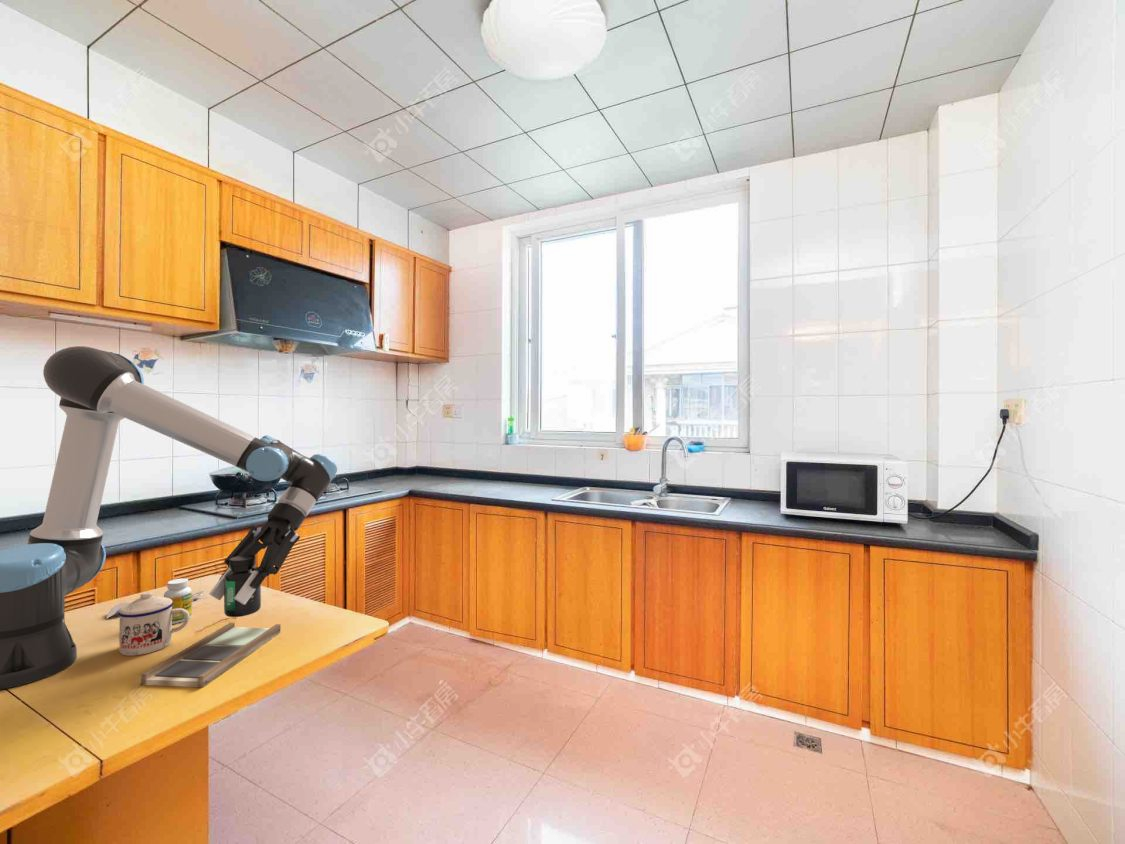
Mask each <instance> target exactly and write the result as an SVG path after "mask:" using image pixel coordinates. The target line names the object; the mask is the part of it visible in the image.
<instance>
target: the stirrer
mask: <svg viewBox="0 0 1125 844" xmlns="http://www.w3.org/2000/svg"><path fill="white" fill-rule="evenodd" d="M204 593H205V591H204V590H201V591H198V592H195V593H192V600H195V599H197V598H199V597H201V596H202V595H203V594H204ZM129 603H130V602H122V603H119V604H116V605H115V606H113V607H112V608H111V609H110V610H109V611H108V613H107V615H106V616H107V617H108V618H107V619H110V618H111V617H113V616H115V615H116V614H117V615H118V612H119V610H120V608H121V607H123V606H124V605H126V604H129ZM109 617H110V618H109Z"/></svg>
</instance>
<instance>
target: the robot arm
mask: <svg viewBox="0 0 1125 844" xmlns="http://www.w3.org/2000/svg"><path fill="white" fill-rule="evenodd" d="M42 371H43V373H42V374H43V378H44V381H45V384H46V385H47V387H48V388H49V389H50V390H51V391H52V392H53V393H54V394H56V395H57V396H59V397H60V400H59V404H58V407H59V408H60V409H61V410H62V411H63V412H64V413H65V415H66V418H65V422H64V426H63V432H62V436H61V440H60V445H59V449H58V454H57V457H56V461H55V467H54V472H53V476H52V480H51V485H50V489H49V493H48V498H47V502H46V508H45V511H44V516H43V520H42V523H41V524H40V525H39V526H37V527H36V528H34V529H32V530H31V531H30V533H29V536H28V541H27V544H24V545H23V544H22V545H17V546H13V547H11V548H7V549H5V548H4V549H1V550H0V690H3V689H10V688H13V687H19V686H22V685H25V684H29V683H32V682H33V683H34V682H35V681H39V680H42V679H44V678H47V677H50V676H53V675H55V674H56V673H57V674H58V673H59V672H61V671H63V670H65V669H66V668H68V667H70V666H71V665H72V664H73V663H75V662H76V660H77V657H78V655H77V653H78V652H77V651H78V650H77V649H78V648H77V645H76V643H75V642H74V639H73V637H72V634H71V633H70V631H69V628H68V627H67V626H68V625H66V621H65V620H66V619H65V612H66V611H65V609H66V608H65V602H66V601H65V599H66V598H65V597H66V596H68V595H70V594H71V593H73V592H74V591H77V590H78V589H79V588H82V587H83V586H85V585H87V584H88V583H90V582H91V581H92V580H93V579H94V578H95V577H96V576H97V575H98V574H99V573H100V572H101V571H102V568H103V567H104V566H105V563H106V558H107V557H106V556H107V553H106V548H105V546H104V545H103V544H102V543H103V542H102V541H103V537H104V531H103V529H101V528H100V527H99V526H98V525H97V523H98V518H99V513H100V509H101V504H102V501H103V500H102V499H103V498H104V497H103V496H104V491H105V487H106V483H107V477H108V475H109V468H110V463H111V459H112V456H113V455H112V454H113V451H114V446H115V442H116V441H115V440H116V437H117V433H118V428H119V423H120V422H121V421H122V420H123V419H127V420H129V421H131V422H133V423H136V424H138V425H140V426H143V427H145V428H147V429H150V430H152V431H155V432H157V433H159V434H161V435H163V436H166V437H169V438H170V439H172V440H175V441H178V442H179V443H182V444H184V445H186V446H188V447H191V448H193V449H195V450H196V451H197V450H198V451H200V452H202V453H205V454H207V455H209V456H211V457H214V458H216V459H219V460H221V461H223V462H225V463H227V464H230V465H232V466H233V467H234V466H235V467H236V468H238V469H240V470H242V471H245V472H247V473H248V474H249V475H250V476H251V477H252V478H253V479H255V480H256V481H261V482H270V481H271V482H272V481H275V480H278V479H282V480H283V481H285V482H287V483H290V485H289V486H288V488H287V489H285V491H284V492H283V494H282V495H281V496H280V498H279V499H277V500H278V501H277V503H275V505H274V506H273V507H272V508H271V510H270V511H269V513H268V514H267V522H266V523H264V524H263V525H262V526H261V527H257V526H255V525H253V526H251V527H250V528H249V530H248V532H247V534H246V535H245V536H244V538H243V539H242V540H241V541H240V542H239V543H238V545H236V547H234V549H233V550H232V551H231V552H230V554H228V556H227V557H226V558H225V560H224V561H223V562H224V564H225V565H226V566H227V567H226V570H225V571H223V573H222V574H221V576H220V577H219V580H218V582H216V584H215V585H214V587H213V588H212V589H211V590H210V592H209V593H208V594H209V595H210V596H211V597H213V598H215V599H216V600H219V601H221V600H222V598H224V576H225V574H226V573H227V572H228V571H229V570H231V569H230V568H229V565H230V559H231V558H233V557H236V556H241V555H254V556H255V557H256V555H257V554H258V553H259V552H260V551H261V550H264V549H265V551H264V554H263V557H262V559H261V562H260V564H259V566H255V567H256V569H257V570H258V571H259V572H258V571H255V570H254V571H253V573H252V574H251V575H250V577H249V578H248V580H247V581H246V582H245V584H244V585H243V587H242V588H241V589H240V591H239V592H238V594H237V595H236V596H235V598H234V599H235V600H237V601H238V602H240V603H241V604H244V605H245V604H246V603H247V601H248V600H249V598H250V597H251V596H252V594H253V593H254V591H255V590H256V589H257V588H258V587H259V586H260V584H261V585H262V583H263V582H264V580H265V579H266V578H267V577H269V576H270V575H277V574H278V573H279V571H280V569H281V568H282V566H283V564H284V563H285V561H286V559H287V558H288V556H289V554H290V552H291V550H292V549H293V547H294V545H295V544H297V542H298V541H299V540H300V538H301V536H300V535H299V534H298V533H297V532H296V531H298V529H300V527H301V525H302V524H303V522H304V521H305V520H306V517H307V516H308V515H309V513H310V512H311V511H312V509H313V507H314V506H315V505H316V504H317V502H318V501H319V499H320V498H321V497H322V495H323V494H324V493H325V491H326V490H327V488H328V487H329V485H330V484H331V482H332V480H333V479H334V477H335V476H336V474H337V472H338V467H337V464H336V463H335V461H333V459H331V458H330V457H328V456H326V455H323V454H319V453H318V454H317V453H316V454H314V455H312V456H311V457H308V456H305V455H303V454H301V453H300V452H298V451H296V450H295V449H293V448H291V447H290V446H288V445H287V444H285V443H283V442H282V441H281V440H279V439H277V438H274V437H272V436H270V435H264V436H261V438H258V437H257V436H253V435H252V434H250V433H247V432H245V431H243V430H241V429H239V428H237V427H235V426H233V425H230V424H228V423H226V422H225V421H222V420H220V419H219V418H216V417H214V416H212V415H210V414H207V413H205V412H203V411H201V410H198V409H197V408H194V407H193V406H190V405H188V404H185V403H183V402H182V401H180V400H177V399H175V398H173V397H171V396H169V395H167V394H165V393H162V392H161V391H159V390H157V389H154V388H152V387H149V386H147V385H145V382H144V381H145V380H144V379H145V378H144V375H143V373H142V371H141V369H140V367H139V366H138V365H137V364H136V363H135V362H134V361H132V360H131V359H129V358H127V357H126V356H124V355H121V354H119V353H115V352H112V351H107V350H101V349H98V348H94V347H90V346H85V345H83V346H81V345H78V346H75V345H74V346H69V347H66V348H62V349H60V350H58V351H55V352H54V353H53V354H52V355H51V356H49V358H48V359H46V362H45V363H44V366H43V370H42Z"/></svg>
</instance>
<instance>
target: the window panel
mask: <svg viewBox="0 0 1125 844" xmlns="http://www.w3.org/2000/svg"><path fill="white" fill-rule="evenodd" d="M235 625H236V623H235V622H229V623H227V624H225V625H224V626H222V627H220V628H218V629H217V630H215V631H214V632H211V633H210V634H208V635H206V636H204V637H203V638H201V639H200V640H198V641H196V642H194V643H192V644H191V645H189V646H187V647H185V648H184V649H182V650H180V651H178V652H176V653H175V654H173V655H172V656H170V657H167V658H166V659H165V660H163V661H161V662H159V663H158V664H156V665H155V666H153V667H151V668H149V669H147V670H146V671H143V672H142V673H141V674H140V685H141V684H146V685H145V686H160V687H161V686H162V687H163V686H164V687H183V688H184V687H186V688H187V687H189V688H190V687H192V688H204V687H206V686H207V685H209V684H210V683H212V682H213V681H214V680H216V679H217V678H219V677H220V676H221V675H222V674H224V673H226V672H227V671H228V670H230V669H231V668H233V667H234V666H236V665H238V663H239V662H241V661H242V660H244V659H246V658H247V657H248V656H250V655H252V654H253V653H254V652H256V651H257V650H258V649H260V648H261V647H262V645H263V646H264V645H265V644H267V643H268V642H270V641H271V640H272V638H273V637H274V638H275V637H277V636H278V635H280V634H281V623H276V624H274V625H273V626H271V627H265V628H264V627H247V626H246V627H245V626H244V627H243V626H241V627H240V626H235ZM279 633H280V634H279ZM276 635H277V636H276ZM274 638H273V639H274ZM269 640H270V641H269Z"/></svg>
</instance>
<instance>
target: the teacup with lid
mask: <svg viewBox="0 0 1125 844" xmlns="http://www.w3.org/2000/svg"><path fill="white" fill-rule="evenodd" d="M128 603H129V604H126V605H124V606H123V607H121V608H120V610H119V612H118V613H117V615H118V616H119V653H120V654H121V655H124V656H127V657H128V656H129V657H130V656H143V655H146V654H150V653H153V652H154V653H155V652H156V651H157V652H158V651H159V650H161V649H164V648H166V647H167V646H169V644H171V643H172V640H173V633H177V632H180V631H181V630H183V629H184V628H186V626H187V624H188V622H189V620H190V619H189V613H188V611H187V610H185V609H182V608H177V609H172V605H173V602H172V600H171V599H170V598H166V597H164V596H158V595H153V592H152V591H146V592H141V593H140V597H139V598H136V599H134V600H133V601H132V602H131V601H130V602H128ZM172 613H183V614H184V615H185V621H184V622H182V624H181V625H180V626H177V627H173V624H172Z"/></svg>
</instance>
